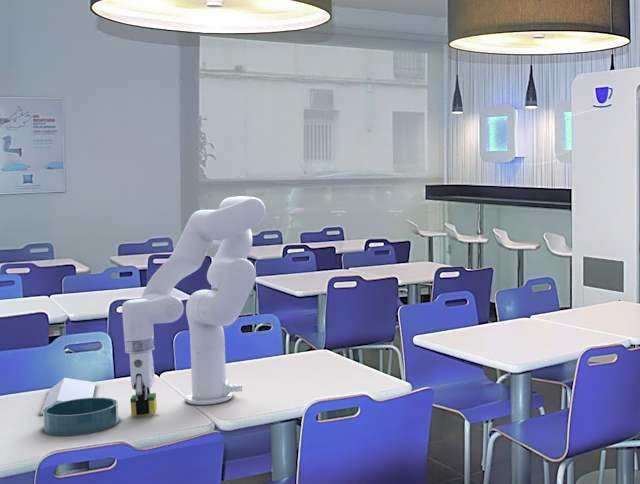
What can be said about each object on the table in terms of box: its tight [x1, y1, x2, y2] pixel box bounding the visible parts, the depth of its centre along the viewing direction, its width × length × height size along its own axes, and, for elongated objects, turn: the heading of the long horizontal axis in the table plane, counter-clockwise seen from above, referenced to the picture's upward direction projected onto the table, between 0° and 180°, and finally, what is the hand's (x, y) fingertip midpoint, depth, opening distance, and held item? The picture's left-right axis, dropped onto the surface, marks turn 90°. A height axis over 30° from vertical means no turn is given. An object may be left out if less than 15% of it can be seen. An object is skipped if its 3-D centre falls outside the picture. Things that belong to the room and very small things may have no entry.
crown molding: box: [40, 377, 96, 416], centre depth 255 cm, size 29×12×4 cm, turn 21°
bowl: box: [42, 397, 119, 436], centre depth 229 cm, size 18×18×5 cm
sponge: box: [129, 392, 158, 416], centre depth 237 cm, size 6×4×4 cm, turn 103°
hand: (144, 411), depth 238 cm, fingers closed on sponge, 4 cm apart
